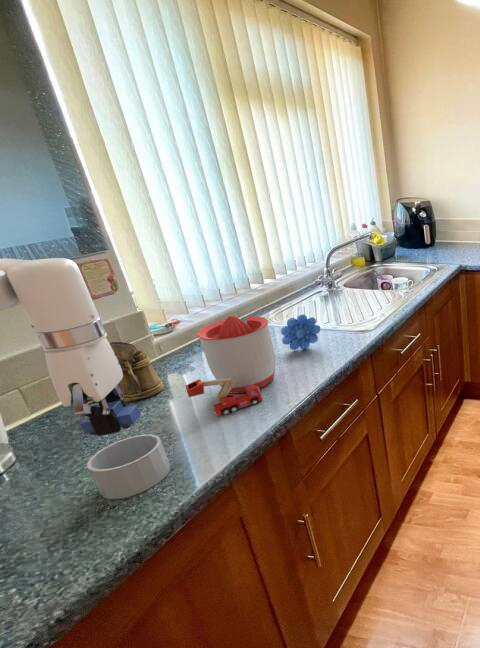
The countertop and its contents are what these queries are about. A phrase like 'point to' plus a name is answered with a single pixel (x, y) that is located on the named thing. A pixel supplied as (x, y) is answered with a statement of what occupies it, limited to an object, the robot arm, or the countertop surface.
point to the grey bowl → (129, 466)
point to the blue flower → (300, 332)
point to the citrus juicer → (239, 351)
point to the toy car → (123, 416)
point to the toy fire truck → (226, 395)
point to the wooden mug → (136, 373)
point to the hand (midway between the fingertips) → (114, 425)
